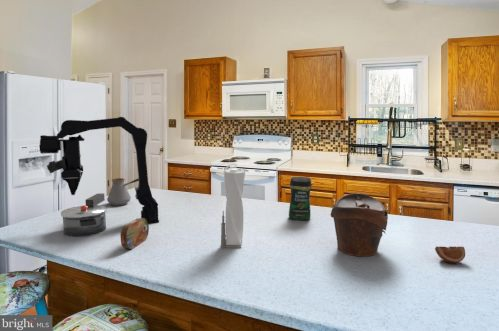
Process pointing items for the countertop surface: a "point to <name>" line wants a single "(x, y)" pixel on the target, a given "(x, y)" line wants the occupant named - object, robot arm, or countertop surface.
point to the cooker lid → (86, 208)
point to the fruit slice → (451, 253)
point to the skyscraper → (233, 209)
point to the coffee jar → (300, 198)
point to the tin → (134, 233)
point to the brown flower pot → (359, 224)
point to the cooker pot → (84, 226)
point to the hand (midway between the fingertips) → (74, 192)
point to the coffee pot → (119, 192)
